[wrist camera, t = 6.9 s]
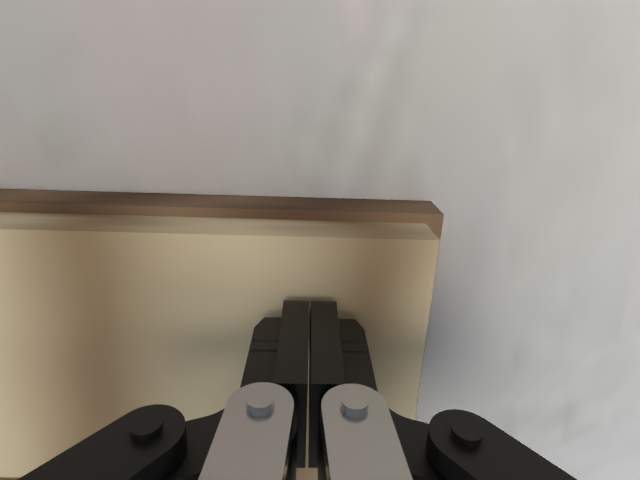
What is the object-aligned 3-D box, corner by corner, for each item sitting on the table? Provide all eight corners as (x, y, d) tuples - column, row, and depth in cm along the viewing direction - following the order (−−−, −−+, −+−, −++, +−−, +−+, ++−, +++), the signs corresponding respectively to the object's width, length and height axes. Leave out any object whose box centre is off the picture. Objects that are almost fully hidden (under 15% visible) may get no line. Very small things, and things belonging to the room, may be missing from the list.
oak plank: (-179, 438, 15) (-229, 474, 14) (-293, 204, 12) (-372, 219, 11) (397, 445, 16) (405, 481, 14) (425, 223, 13) (440, 240, 11)
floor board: (-70, 586, 20) (-130, 665, 18) (-251, 181, 13) (-399, 208, 11) (380, 586, 21) (390, 664, 18) (430, 201, 14) (459, 230, 11)
